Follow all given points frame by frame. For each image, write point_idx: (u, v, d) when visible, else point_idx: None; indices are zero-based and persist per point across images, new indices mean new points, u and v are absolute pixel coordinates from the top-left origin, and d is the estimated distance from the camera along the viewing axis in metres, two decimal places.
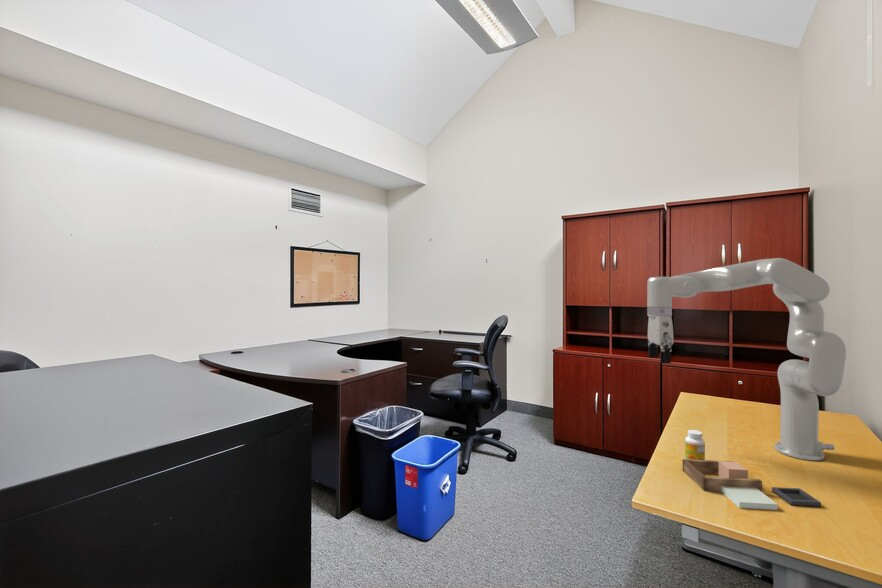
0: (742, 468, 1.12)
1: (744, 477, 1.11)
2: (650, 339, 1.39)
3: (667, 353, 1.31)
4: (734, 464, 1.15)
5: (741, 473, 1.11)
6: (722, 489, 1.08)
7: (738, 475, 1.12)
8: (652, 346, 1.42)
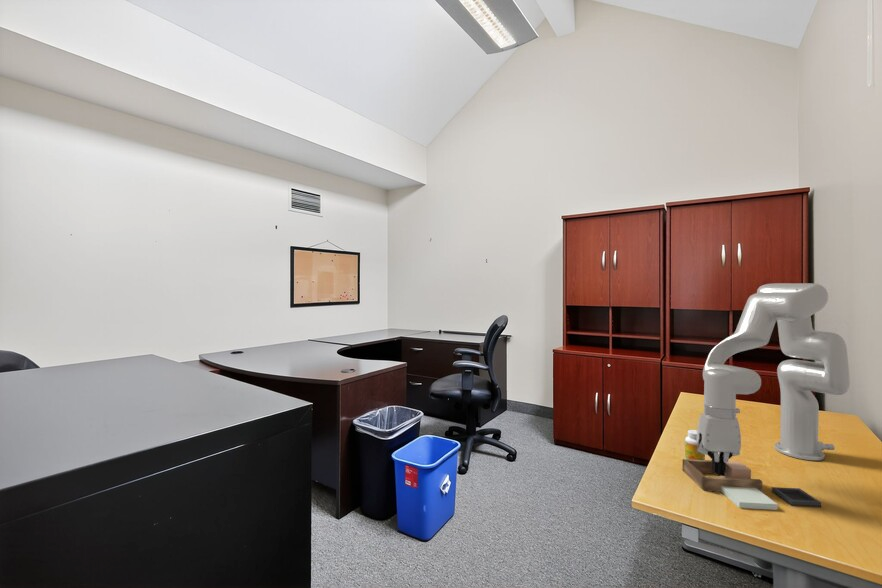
0: (745, 468, 1.12)
1: (747, 477, 1.11)
2: (715, 448, 1.12)
3: None
4: (737, 464, 1.14)
5: (744, 473, 1.11)
6: (722, 489, 1.08)
7: (741, 475, 1.11)
8: (718, 457, 1.14)
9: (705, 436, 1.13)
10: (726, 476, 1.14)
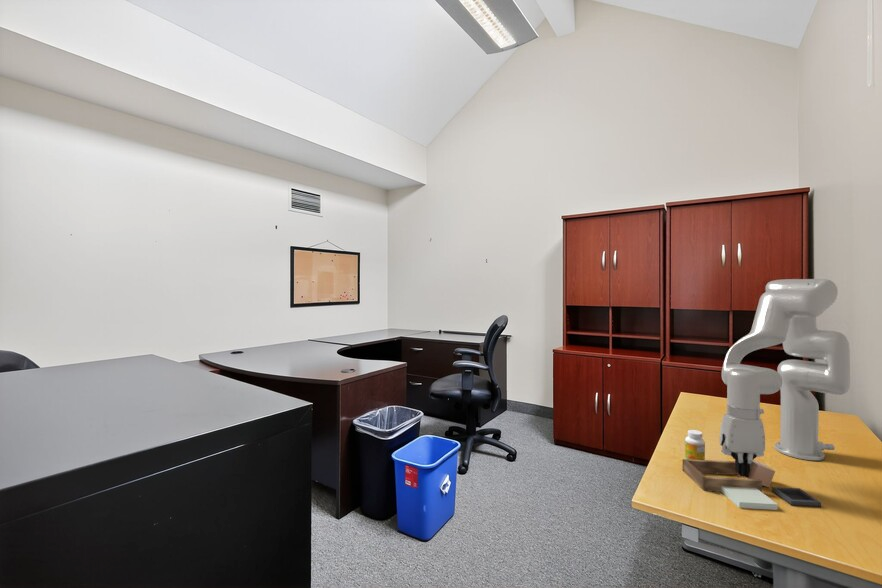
0: (770, 468, 1.11)
1: (769, 477, 1.11)
2: (739, 449, 1.12)
3: None
4: (761, 463, 1.14)
5: (768, 472, 1.11)
6: (722, 489, 1.08)
7: (765, 474, 1.11)
8: None
9: (729, 437, 1.12)
10: None
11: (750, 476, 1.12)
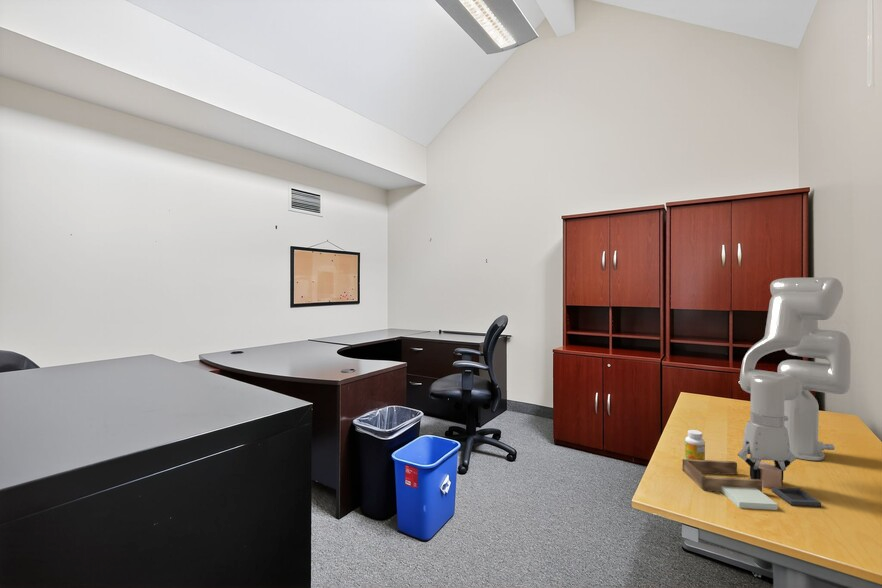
0: (775, 469, 1.11)
1: (778, 478, 1.11)
2: (764, 456, 1.11)
3: None
4: (766, 464, 1.14)
5: (775, 474, 1.11)
6: (722, 489, 1.08)
7: (772, 476, 1.11)
8: None
9: (753, 444, 1.11)
10: None
11: None
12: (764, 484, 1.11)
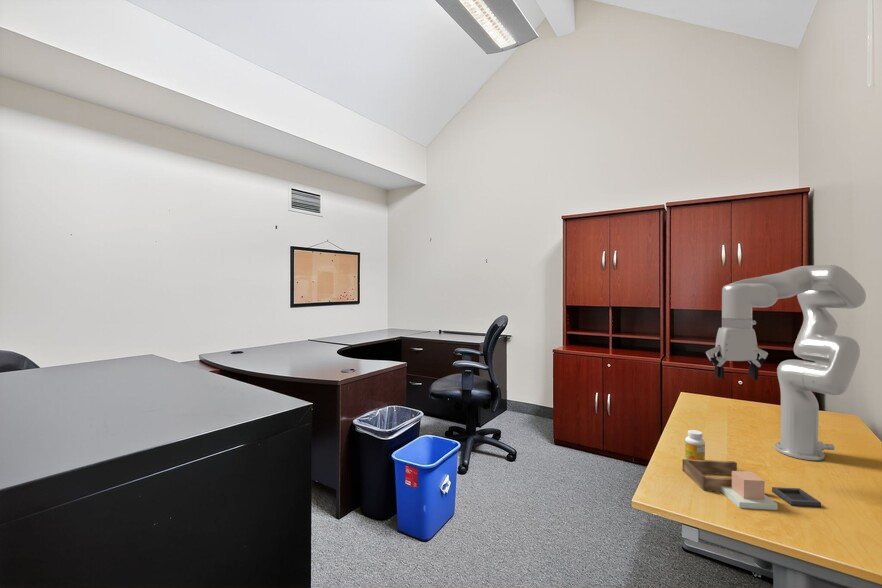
0: (758, 479, 1.03)
1: (760, 489, 1.02)
2: (733, 357, 1.20)
3: None
4: (749, 474, 1.05)
5: (757, 484, 1.02)
6: (722, 489, 1.08)
7: (754, 487, 1.02)
8: None
9: (724, 346, 1.20)
10: (737, 488, 1.05)
11: (741, 493, 1.03)
12: (745, 495, 1.03)
